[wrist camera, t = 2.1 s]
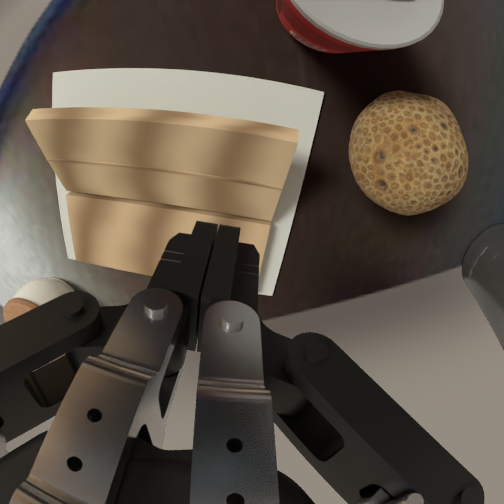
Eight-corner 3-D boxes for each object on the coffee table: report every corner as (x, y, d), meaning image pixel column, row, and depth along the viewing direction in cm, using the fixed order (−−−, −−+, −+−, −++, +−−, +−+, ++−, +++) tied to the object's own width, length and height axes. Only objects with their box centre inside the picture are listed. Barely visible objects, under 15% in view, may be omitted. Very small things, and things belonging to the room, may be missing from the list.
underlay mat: (323, 92, 22) (324, 92, 22) (272, 294, 34) (272, 295, 33) (54, 72, 21) (53, 72, 20) (69, 257, 32) (68, 258, 32)
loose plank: (298, 129, 19) (298, 143, 18) (272, 209, 28) (271, 221, 27) (32, 109, 18) (24, 120, 17) (70, 180, 27) (66, 191, 26)
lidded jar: (75, 332, 40) (51, 381, 33) (23, 286, 36) (-10, 331, 28) (108, 304, 36) (80, 362, 29) (46, 248, 32) (4, 299, 24)
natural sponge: (394, 62, 20) (460, 70, 11) (446, 145, 23) (512, 190, 15) (312, 125, 23) (336, 163, 15) (373, 200, 27) (412, 267, 19)
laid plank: (271, 215, 28) (271, 221, 27) (255, 286, 33) (254, 293, 32) (71, 186, 27) (65, 191, 26) (80, 254, 32) (76, 260, 31)
